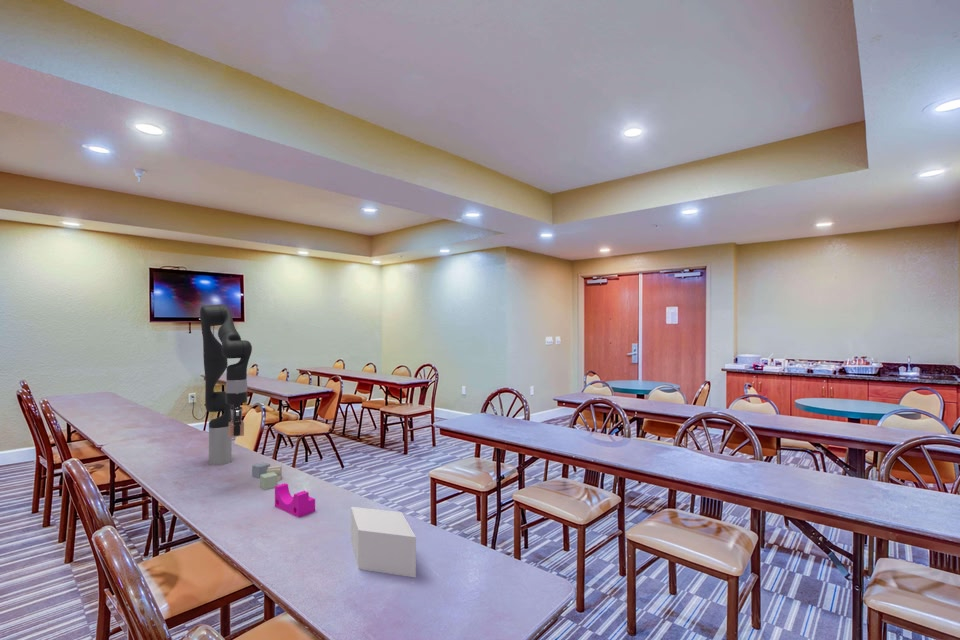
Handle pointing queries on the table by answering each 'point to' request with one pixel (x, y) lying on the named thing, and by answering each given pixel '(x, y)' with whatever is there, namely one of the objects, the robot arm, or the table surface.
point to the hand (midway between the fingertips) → (236, 433)
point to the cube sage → (268, 480)
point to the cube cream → (276, 471)
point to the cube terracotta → (231, 429)
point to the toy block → (293, 501)
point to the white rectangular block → (383, 541)
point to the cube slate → (259, 469)
